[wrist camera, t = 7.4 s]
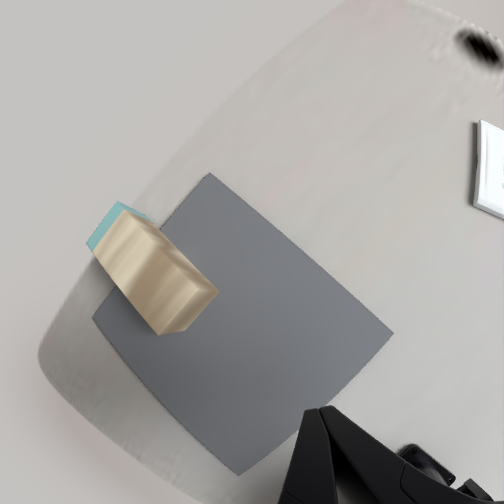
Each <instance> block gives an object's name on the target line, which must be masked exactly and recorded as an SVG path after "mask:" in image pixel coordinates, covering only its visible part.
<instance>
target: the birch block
mask: <svg viewBox="0 0 504 504" xmlns="http://www.w3.org/2000/svg"><path fill="white" fill-rule="evenodd" d="M86 244H87V245H88V247H89V248H90V249H91V251H92V252H93V254H94V255H95V257H96V258H97V259H98V261H99V262H100V263H101V265H102V266H103V268H104V269H105V270H106V272H107V273H108V274H109V276H110V277H111V278H112V279H113V281H114V282H115V283H116V285H117V286H118V287H119V289H120V290H121V291H122V292H123V294H124V295H125V296H126V297H127V299H128V300H129V301H130V302H131V304H132V305H133V306H134V307H135V309H136V310H137V311H138V312H139V313H140V315H141V316H142V317H143V318H144V319H145V321H146V322H147V323H148V324H149V325H150V326H151V328H152V329H153V330H154V331H155V332H156V333H157V334H158V336H159V335H164V334H170V333H175V332H181V331H185V330H186V329H187V328H188V327H189V325H190V324H191V323H192V322H193V321H194V320H195V319H196V318H197V316H198V315H199V314H200V313H201V312H202V311H203V310H204V309H205V308H206V306H207V305H208V304H209V303H210V302H211V301H212V300H213V299H214V297H215V296H216V295H217V294H218V293H219V292H220V291H219V290H218V289H217V288H216V287H215V286H214V285H213V284H212V283H211V282H210V281H209V280H208V279H207V278H206V277H205V276H204V275H203V274H202V273H201V272H200V271H199V270H198V269H197V268H196V267H195V266H194V265H193V264H192V263H191V262H190V261H189V260H188V259H187V258H186V257H185V256H184V255H183V254H182V253H181V252H180V251H179V250H178V249H177V248H176V247H175V246H174V245H173V244H172V243H171V242H170V241H169V240H168V239H167V237H166V236H165V235H164V234H163V233H162V232H161V231H160V230H159V229H158V228H157V227H156V226H155V225H154V224H153V223H152V222H151V221H150V219H149V218H148V217H147V216H146V215H144V214H142V213H140V212H138V211H136V210H134V209H132V208H130V207H128V206H126V205H124V204H122V203H120V202H118V201H117V202H116V203H115V204H114V206H113V207H112V208H111V210H110V211H109V212H108V214H107V215H106V216H105V218H104V219H103V220H102V222H101V223H100V224H99V226H98V227H97V228H96V230H95V231H94V233H93V234H92V236H91V237H90V238H89V240H88V241H87V243H86Z"/></svg>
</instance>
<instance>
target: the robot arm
mask: <svg viewBox="0 0 504 504" xmlns="http://www.w3.org/2000/svg"><path fill="white" fill-rule="evenodd" d="M414 449H416V451H415V452H412V450H414ZM450 478H451V479H450ZM449 479H450V480H449ZM455 479H456V477H455V476H454V474H453V473H451V472H450V471H449V470H448V469H446V468H445V467H444V466H443V465H441V464H440V463H439V462H438V461H436V460H435V459H434V458H433V457H432V456H430V455H429V454H428V453H427V452H425V451H424V450H423V449H422V448H421V447H419V446H418V445H416V444H414V445H411V446H410V447H409V448H407V449H406V450H405V451H404V452H403V453H402V454H401V455H400V456H398V455H397V454H395V453H394V452H393V451H391V450H390V449H388V448H387V447H386V446H384V445H383V444H382V443H380V442H379V441H378V440H376V439H375V438H374V437H372V436H371V435H370V434H368V433H367V432H366V431H364V430H363V429H362V428H360V427H359V426H358V425H357V424H355V423H354V422H353V421H351V420H350V419H349V418H348V417H346V416H345V415H344V414H342V413H341V412H340V411H339V410H337V409H336V408H335V407H334V406H331V405H330V406H324V407H320V408H319V409H318V408H313V409H307V410H305V411H304V414H303V418H302V422H301V426H300V429H299V433H298V437H297V441H296V444H295V448H294V451H293V455H292V458H291V462H290V465H289V469H288V472H287V475H286V479H285V482H284V485H283V488H282V492H281V494H280V497H279V500H278V503H277V504H504V501H495V502H494V500H493V499H492V498H491V497H490V496H489V495H488V494H487V493H486V492H485V491H484V490H483V489H482V488H481V487H480V486H479V485H477V484H476V483H475V482H474V481H473V480H472V479H471V478H470V479H468V480H467V481H466V482H464V485H462V486H461V487H459V488H458V489H456V490H455V489H453V488H451V487H449V486H450V485H451V484H452V483H453V482H454V481H455ZM448 480H449V481H448Z"/></svg>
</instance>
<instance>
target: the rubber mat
mask: <svg viewBox="0 0 504 504" xmlns="http://www.w3.org/2000/svg"><path fill="white" fill-rule="evenodd" d="M160 231H161V232H162V233H163V234H164V235H165V236H166V237H167V239H168V240H169V241H170V242H171V243H172V244H173V245H174V246H175V247H176V248H177V249H178V250H179V251H180V252H181V253H182V254H183V255H184V256H185V257H186V258H187V259H188V260H189V261H190V262H191V263H192V264H193V265H194V266H195V267H196V268H197V269H198V270H199V271H200V272H201V273H202V274H203V275H204V276H205V277H206V278H207V279H208V280H209V281H210V282H211V283H212V284H213V285H214V286H215V287H216V288H217V289H218V290H219V291H220V292H219V293H218V294H217V295H216V296H215V297H214V299H213V300H212V301H211V302H210V303H209V304H208V305H207V306H206V308H205V309H204V310H203V311H202V312H201V313H200V314H199V315H198V316H197V318H196V319H195V320H194V321H193V322H192V323H191V324H190V325H189V327H188V328H187V329H186V330H185V331H181V332H175V333H170V334H164V335H159V336H158V334H157V333H156V332H155V331H154V330H153V329H152V328H151V326H150V325H149V324H148V323H147V322H146V321H145V319H144V318H143V317H142V316H141V315H140V313H139V312H138V311H137V310H136V309H135V307H134V306H133V305H132V304H131V302H130V301H129V300H128V299H127V297H126V296H125V295H124V294H123V292H122V291H121V290H120V289H119V287H118V286H117V285H116V286H115V287H114V289H113V290H112V291H111V293H110V294H109V295H108V297H107V298H106V299H105V301H104V302H103V304H102V305H101V306H100V308H99V309H98V311H97V312H96V313H95V315H94V316H93V320H94V321H95V322H96V324H97V325H98V327H99V328H100V329H101V331H102V332H103V333H104V335H105V336H106V337H107V339H108V340H109V341H110V343H111V344H112V345H113V347H114V348H115V349H116V351H117V352H118V353H119V354H120V356H121V357H122V358H123V359H124V361H125V362H126V363H127V364H128V366H129V367H130V368H131V369H132V370H133V372H134V373H135V374H136V375H137V376H138V378H139V379H140V380H141V381H142V382H143V383H144V385H145V386H146V387H147V388H148V389H149V390H150V391H151V392H152V394H153V395H154V396H155V397H156V398H157V399H158V400H159V401H160V402H161V403H162V405H163V406H164V407H165V408H166V409H167V410H168V411H169V412H170V413H171V414H172V415H173V416H174V417H175V418H176V419H177V420H178V421H179V422H180V423H181V424H182V425H183V426H184V427H185V428H186V429H187V430H188V431H189V432H190V433H191V434H192V435H193V436H194V437H195V438H196V439H197V440H198V441H199V442H200V443H201V444H202V445H203V446H204V447H206V448H207V449H208V450H209V451H210V452H211V453H212V454H213V455H214V456H215V457H217V458H218V459H219V460H220V461H221V462H222V463H223V464H225V465H226V466H227V467H228V468H229V469H230V470H232V471H233V472H234V473H235V474H236V475H238V476H239V475H241V474H242V473H243V472H245V471H246V470H248V469H249V468H250V467H252V466H253V465H254V464H256V463H257V462H258V461H260V460H261V459H262V458H264V457H265V456H266V455H268V454H269V453H270V452H271V451H273V450H274V449H275V448H277V447H278V446H279V445H280V444H281V443H283V442H284V441H285V440H286V439H288V438H289V437H290V436H291V435H292V434H294V433H295V432H296V431H297V430H298V429H299V428H300V426H301V422H302V418H303V414H304V411H305V410H307V409H313V408H318V409H319V408H320V407H324V406H325V405H326V404H327V403H328V402H329V401H330V400H332V399H333V398H334V397H335V396H336V395H337V394H338V393H339V392H340V391H341V390H342V389H343V388H344V387H345V386H346V385H347V384H348V383H349V382H350V381H351V380H352V379H353V378H354V377H355V376H356V375H357V374H358V373H359V372H360V371H361V370H362V368H363V367H364V366H365V365H366V364H367V363H368V362H369V361H370V360H371V359H372V358H373V357H374V356H375V354H376V353H377V352H378V351H379V350H380V349H381V348H382V347H383V346H384V344H385V343H386V342H387V341H388V340H389V339H390V337H391V336H392V335H393V334H394V333H393V332H392V331H391V330H390V329H389V328H388V327H387V326H386V325H385V324H383V323H382V322H381V321H380V320H379V319H378V318H377V317H376V316H375V315H374V314H373V313H372V312H370V311H369V310H368V309H367V308H366V307H365V306H364V305H363V304H362V303H361V302H360V301H358V300H357V299H356V298H355V297H354V296H353V295H352V294H351V293H350V292H348V291H347V290H346V289H345V288H344V287H343V286H342V285H341V284H340V283H338V282H337V281H336V280H335V279H334V278H333V277H332V276H331V275H329V274H328V273H327V272H326V271H325V270H324V269H323V268H322V267H320V266H319V265H318V264H317V263H316V262H315V261H314V260H313V259H311V258H310V257H309V256H308V255H307V254H306V253H305V252H303V251H302V250H301V249H300V248H299V247H298V246H296V245H295V244H294V243H293V242H292V241H291V240H290V239H288V238H287V237H286V236H285V235H284V234H283V233H281V232H280V231H279V230H278V229H277V228H276V227H274V226H273V225H272V224H271V223H270V222H269V221H267V220H266V219H265V218H264V217H263V216H262V215H260V214H259V213H258V212H257V211H256V210H254V209H253V208H252V207H251V206H250V205H249V204H247V203H246V202H245V201H244V200H243V199H241V198H240V197H239V196H238V195H237V194H235V193H234V192H233V191H232V190H231V189H229V188H228V187H227V186H226V185H225V184H223V183H222V182H221V181H220V180H218V179H217V178H216V177H215V176H214V175H212V174H211V173H209V174H208V175H207V176H206V177H205V178H204V179H203V180H202V181H201V183H200V184H199V185H198V186H197V187H196V188H195V189H194V190H193V192H192V193H191V194H190V195H189V196H188V197H187V198H186V200H185V201H184V202H183V203H182V204H181V205H180V207H179V208H178V209H177V210H176V211H175V212H174V214H173V215H172V216H171V217H170V218H169V219H168V221H167V222H166V223H165V224H164V225H163V227H162V228H161V229H160Z"/></svg>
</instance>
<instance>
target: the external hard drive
mask: <svg viewBox="0 0 504 504" xmlns="http://www.w3.org/2000/svg"><path fill="white" fill-rule="evenodd" d="M477 155H478V166H477V169H476V180H475V191H474V201H473V206H475V207H477V208H479V209H481V210H484V211H486V212H488V213H490V214H493V215H495V216H497V217H499V218H502V219H504V131H503V130H501V129H499V128H497V127H495V126H493V125H491V124H489V123H487V122H485V121H483V120H479V122H478V123H477Z"/></svg>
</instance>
